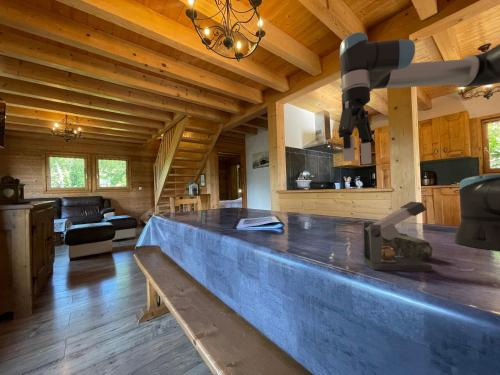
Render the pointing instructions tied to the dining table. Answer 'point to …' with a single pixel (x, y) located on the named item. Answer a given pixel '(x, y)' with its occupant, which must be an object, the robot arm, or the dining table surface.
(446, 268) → the dining table surface
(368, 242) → the cracker base
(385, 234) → the lever
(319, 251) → the dining table surface
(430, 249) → the stone
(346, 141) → the robot arm
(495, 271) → the dining table surface
